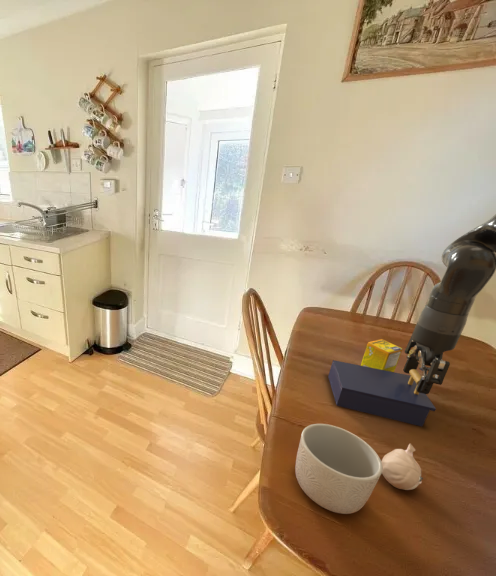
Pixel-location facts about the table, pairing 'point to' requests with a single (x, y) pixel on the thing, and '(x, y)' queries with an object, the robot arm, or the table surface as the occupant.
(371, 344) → the supplement box
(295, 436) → the table surface
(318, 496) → the planter
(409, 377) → the cover
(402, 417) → the hinged blue tray
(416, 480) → the garlic bulb
